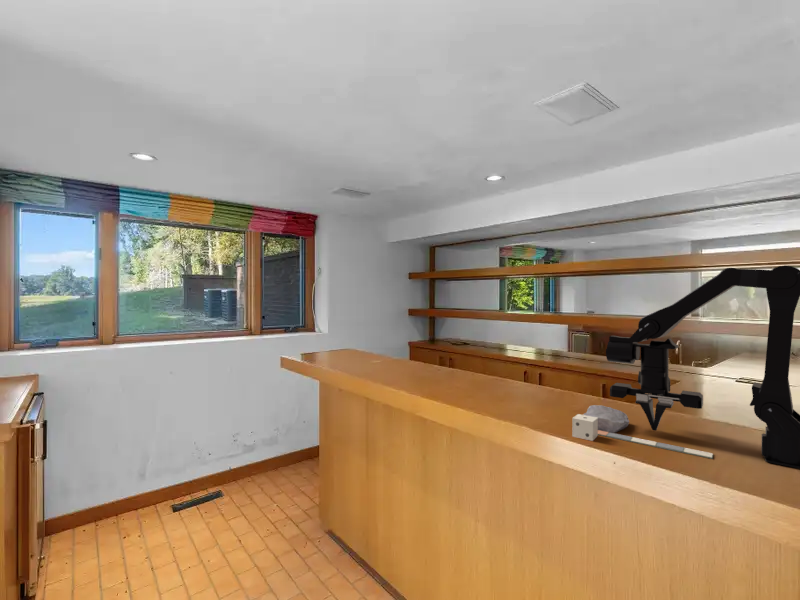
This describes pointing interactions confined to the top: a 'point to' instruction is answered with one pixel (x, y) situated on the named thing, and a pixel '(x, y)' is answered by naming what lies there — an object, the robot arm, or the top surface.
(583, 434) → the die
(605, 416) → the stone block
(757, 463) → the top surface
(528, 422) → the top surface
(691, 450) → the strip
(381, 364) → the top surface
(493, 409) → the top surface
